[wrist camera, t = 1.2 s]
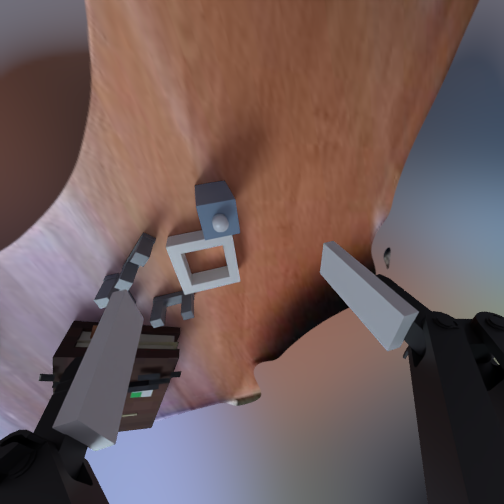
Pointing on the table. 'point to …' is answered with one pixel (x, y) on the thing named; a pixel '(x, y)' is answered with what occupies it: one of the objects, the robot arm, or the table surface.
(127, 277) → the clip
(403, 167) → the table surface
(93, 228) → the table surface
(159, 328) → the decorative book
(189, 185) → the table surface
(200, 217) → the connector
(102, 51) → the table surface
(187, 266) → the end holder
